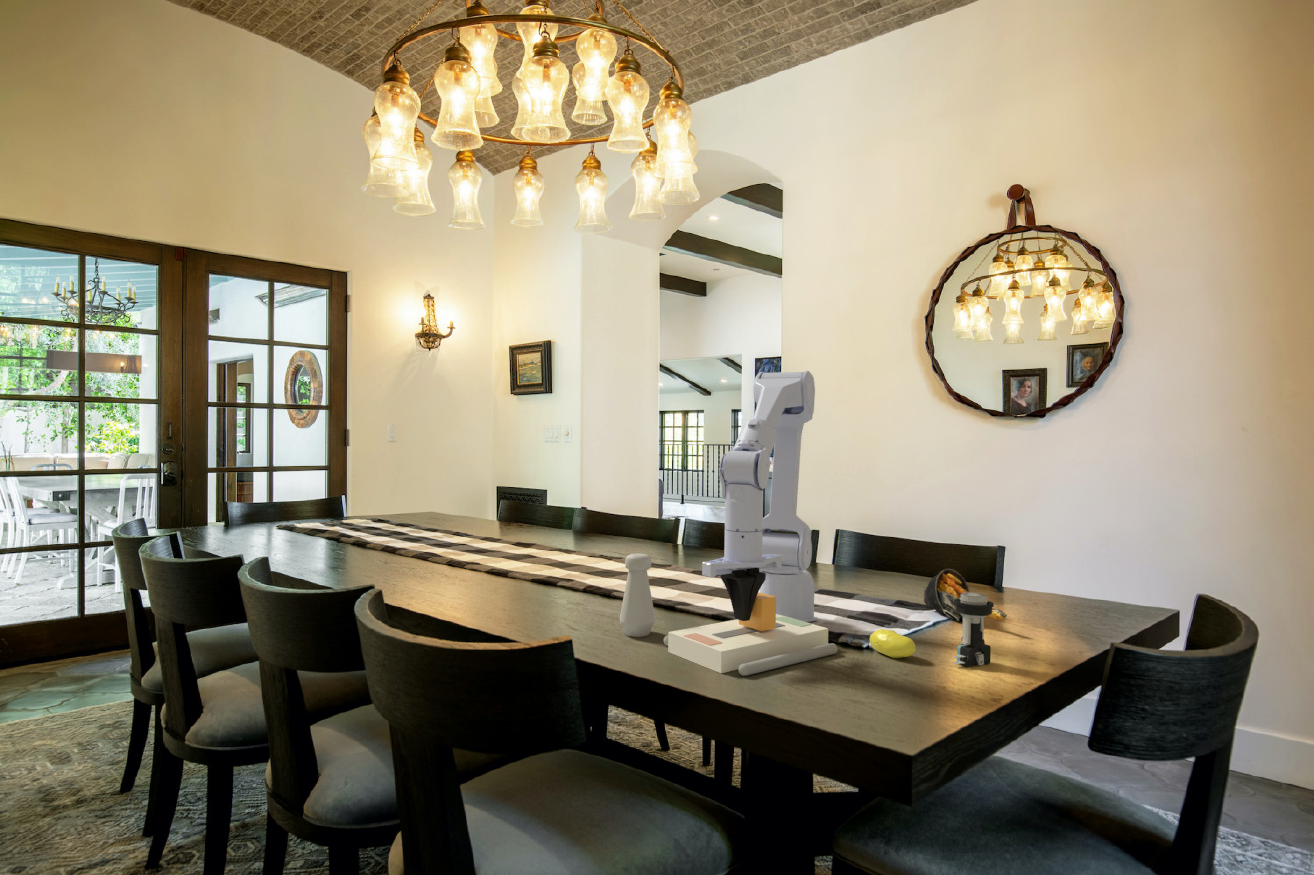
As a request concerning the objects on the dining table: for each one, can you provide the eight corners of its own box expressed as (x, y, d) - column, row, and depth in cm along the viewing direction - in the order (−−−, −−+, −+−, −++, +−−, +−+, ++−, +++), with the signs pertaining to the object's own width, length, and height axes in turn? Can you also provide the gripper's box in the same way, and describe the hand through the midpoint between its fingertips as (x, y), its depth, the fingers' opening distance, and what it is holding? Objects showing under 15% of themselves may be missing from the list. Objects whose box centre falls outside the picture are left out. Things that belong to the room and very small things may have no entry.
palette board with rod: (753, 627, 127) (753, 617, 127) (839, 654, 112) (839, 643, 112) (661, 645, 115) (661, 635, 115) (743, 678, 100) (743, 666, 100)
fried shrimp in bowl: (947, 582, 145) (1028, 566, 130) (945, 637, 140) (1028, 628, 125) (912, 566, 142) (991, 549, 127) (908, 623, 137) (990, 612, 122)
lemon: (882, 647, 116) (882, 622, 116) (922, 661, 109) (922, 635, 109) (862, 650, 114) (862, 625, 114) (901, 665, 107) (902, 638, 107)
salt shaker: (650, 639, 118) (651, 558, 118) (615, 637, 119) (616, 556, 119) (657, 630, 124) (659, 552, 124) (624, 627, 125) (625, 550, 125)
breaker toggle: (752, 621, 117) (753, 591, 117) (775, 628, 113) (776, 596, 113) (738, 624, 115) (739, 593, 115) (761, 631, 111) (762, 599, 111)
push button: (969, 672, 104) (971, 601, 104) (938, 662, 108) (939, 593, 108) (1000, 666, 107) (1001, 596, 107) (969, 656, 112) (970, 589, 112)
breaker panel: (772, 630, 125) (772, 612, 125) (827, 647, 115) (828, 627, 115) (668, 651, 112) (668, 631, 112) (720, 673, 102) (721, 650, 102)
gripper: (725, 536, 105) (723, 632, 105) (796, 529, 113) (795, 618, 113) (693, 530, 110) (692, 621, 111) (763, 524, 119) (762, 609, 119)
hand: (742, 619), depth 112 cm, fingers closed
